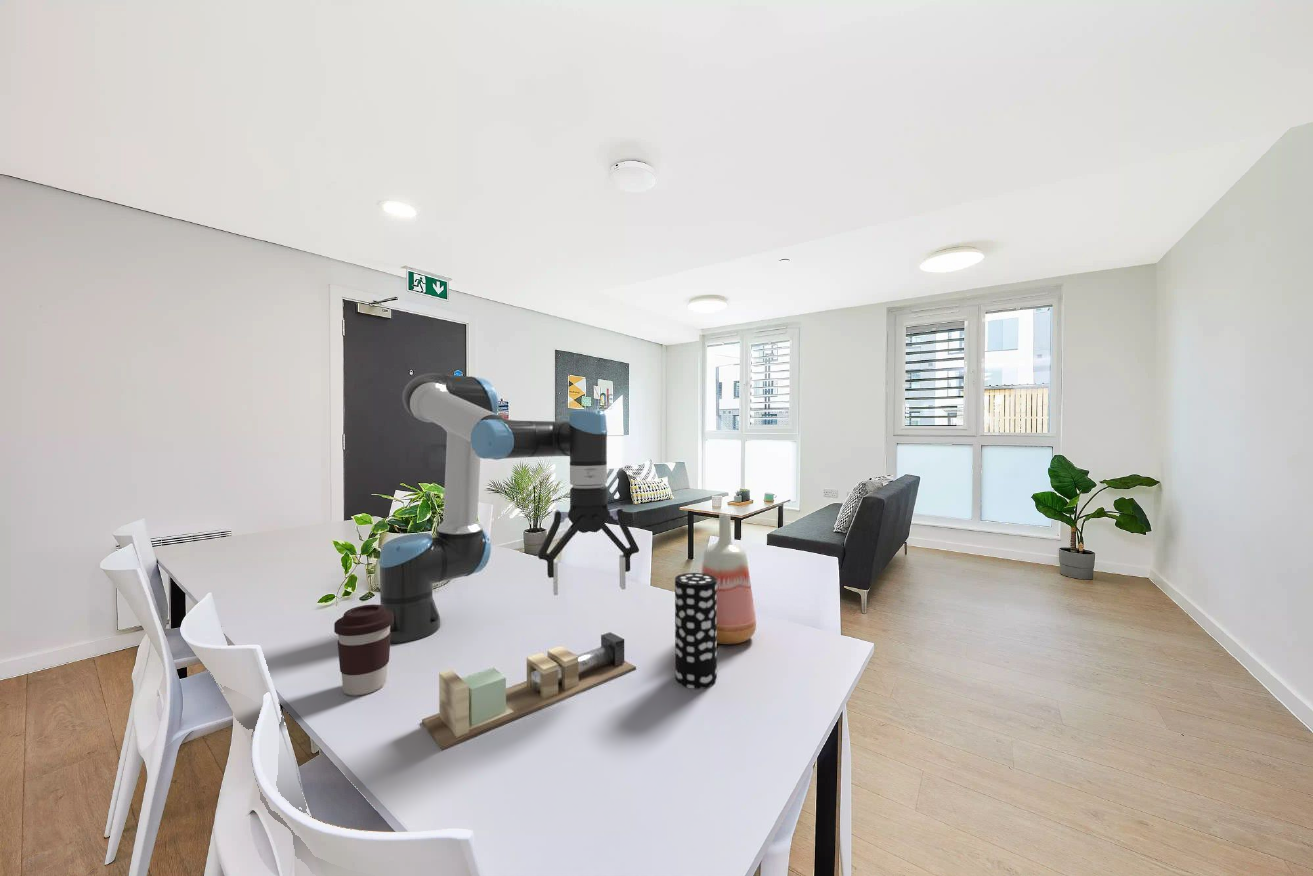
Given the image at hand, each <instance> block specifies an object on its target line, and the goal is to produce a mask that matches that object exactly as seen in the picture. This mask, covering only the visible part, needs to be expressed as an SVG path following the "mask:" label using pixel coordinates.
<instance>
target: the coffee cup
mask: <svg viewBox="0 0 1313 876" xmlns="http://www.w3.org/2000/svg"><path fill="white" fill-rule="evenodd" d="M342 615H343V616H342V617H340V618H338V619H337V620H336V621H335V622H334V624H333V626H334V627H333V629H334V630H333V632H334V633H335V634H336V635H338V640H337V651H338V652H337V653H338V661H339V662H338V663H339V671H340V673H341V681H342V682H341V683H342V691H343V693H345V694H346V695H348V696H362V695H367V694H371V693H373V692H376V691H377V690H379V689H381V688H383V686H384V685H385V684H386V683H387V681H388V679H387V677H388V663H389V662H390V650H391V643H390V639H391V631H390V625H391V624H392V623H393V622H394V614H393V612H391V611H389V610H386V609H385V607H384V606H382V605H380V604H364V605H359V606H356V607H355V606H354V607H353V608H350V609H348V610H347V611H345V612H344V613H343V614H342Z"/></svg>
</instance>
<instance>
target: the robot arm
mask: <svg viewBox="0 0 1313 876" xmlns="http://www.w3.org/2000/svg"><path fill="white" fill-rule="evenodd" d="M401 398H402V403H403V407H404V408H405V410H406V411H407V412H408V413H409V415H411V416H412V417H413V418H415V419H416V420H419V421H421V422H423V423H434V424H436V425H437V426H440V427H442V429H443V430H444V431H445V432H446V452H445V455H446V456H445V474H444V495H443V519H442V520H443V521H442V522H441V523H440V524H439V525H437V527H436V536H434V537H433V536H432V534H430V533H428V532H418V533H410V534H405V535H402V536H398V537H397V536H396V537H395V538H392V539H390V540H388V541H386V542H385V543H384V544H383V545H382V546H381V548H380V557H379V563H378V564H379V565H378V566H379V586H380V587H379V589H380V591H379V593H380V596H379V598H380V600H379V602H380V603H379V605H382V606H384V607H385V609H386V610H389V611H391V612H393V614H394V622H393V623H392V624H391V625H390V631H391V639H390V644H398V643H399V644H400V643H406V642H412V641H415V640H419V639H422V638H426V637H427V636H430V635H432V634H434V633H436V632H437V631H438V630H439V629H440V627H441V617H440V616H441V615H440V613H439V611H438V608H437V606H436V602H435V600H434V597H433V584H436V583H440V582H441V583H442V582H445V581H449V580H453V579H454V580H455V579H457V578H463V577H469V576H471V575H473V574H477V573H479V572H482V570H483V569H485V568H486V566H487V564H488V563H489V560H490V558H491V552H492V544H491V541H490V536H489V534H488V533H487V532H486V531H485V530H483V528H484V527H483V525H482V524H481V523H480V522H479V520H478V515H479V512H478V511H479V494H480V493H479V491H480V474H481V473H480V471H481V459H487V460H488V459H489V460H496V461H497V460H502V459H519V458H521V459H522V458H548V457H569V484H570V485H571V486H572V487H570V489H569V510H568V511H560V510H559V509H558V510H555V511H554V515H553V522H552V524H551V526H550V527H549V530H548V532H547V534H546V536H545V538H544V539H543V542H542V544H541V546H540V549H539V551H538V553H537V558H538V559H539V560H543V561H546V563H547V564H546V565H547V569H546V570H547V576H548V578H549V579H550V578H552V581H553V584H552V587H553V588H552V591H553V596H558V595H559V589H558V588H559V583H558V581H559V579H558V578H559V577H558V576H559V574H558V571H559V570H558V569H559V568H558V563H559V562H558V559H557V558H558V556H559V554H560V553H561V552H562V550H563V549H564V548H565V547H566V546H567V544H568V543H569V542H570V541H571V539H572V538H573V537H574V536H575V535H576V534H577V533H578V532H579V533H582V534H586V533H589V532H591V533H598V532H599V531H600V530H602V531H603V533H605V535H606V536H607V537H608V538H609V539H610V540H611V542H612V543H613V544H614V545H615V546H616V547H617V548H618V549H619V550H620V551H621V553H622V554H618V557H619V566H618V567H619V588H620V589H621V590H626V588H627V586H626V573H627V572H630V571H631V557H632V555H633V554H637V553H639V552H640V549H639V545H638V544H637V543H636V540H635V538H634V536H633V534H632V533H631V530H630V529H629V527H628V524H627V523H626V521H625V519H624V510H623V509H622V508H620V507H616V508H613V509H609V507H608V488H607V487H606V486H605V485H606V484H608V469H607V468H608V467H607V465H608V462H607V461H608V459H607V457H608V455H607V453H608V452H607V450H608V449H607V447H608V445H607V443H608V427H607V416H606V413H605V412H604V411H602V410H597V409H593V410H592V409H576V410H572V411H570V413H569V417H568V421H563V420H559V421H558V420H557V421H554V420H553V421H552V420H551V421H548V420H546V421H545V420H513V419H508V418H506V417H503V416H501V415H499V414H498V411H499V398H498V394H497V391H496V389H495V387H494V386H493V384H492V383H491V382H490V381H489V380H487V379H485V378H480V377H476V376H471V375H470V376H467V375H464V376H463V375H454V374H443V373H436V372H430V373H424V374H420V375H418V376H416V377H414V378H413V379H411V380H410V381H409V382H408V383H407V384H406V386H405V387H404V389H403V392H402V397H401ZM610 517H612V519H613V520H616V522H617V524H618V526H619V528H620V529H621V532H622V534H623V536H624V537H625V540H626V542H627V543H628V545H629V547H626V545H624V544H623V542H622V541H621V540H620V539H619V537H618V536H616V534H615V533H614V532H613V531H612V530H611V529H610V528H609V526H608V525H607V524H606V523H607V521H608V519H609V518H610ZM566 519H568V520H569V521H570V522H571V525H570V526H569V527H568V529H567V530H566V531H565V532H564V534H563V535H562V537H561V538H560V539H559V540H558V542H556V543H555V545H554V547H552V549H551V550H550V551H549V552H548V550H549V548H550V547H551V545H552V543H553V540H554V538H555V536H556V534H557V532H558V530H559V528H560V526H561V523H564V522H565V520H566Z"/></svg>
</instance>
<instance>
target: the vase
mask: <svg viewBox="0 0 1313 876" xmlns="http://www.w3.org/2000/svg"><path fill="white" fill-rule="evenodd" d="M718 518H719V519H718V541H717V542H716V543H714V544H712V545H709V546H708V547H706V548H705V549H704V552H703V556H702V564H701V573H703V574H708V575H712V576H714V577H715V578H716V579H717V644H720V645H736V644H740V643H743V642H746V641H748V640H749V639H751V638H752V637H753V636H754V634H755V633H756V630H757V619H756V618H757V617H756V610H755V604H754V598H753V590H752V583H751V577H750V571H749V564H748V557H747V553H746V551H745V549H744V548H742V547H741V546H740V545H737V544H735V543H733V541H732V531H731V529H732V527H731V526H732V525H731V524H732V523H731V514H730V513H719V517H718Z"/></svg>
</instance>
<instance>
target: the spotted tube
mask: <svg viewBox="0 0 1313 876" xmlns="http://www.w3.org/2000/svg"><path fill="white" fill-rule="evenodd" d="M674 627H675V628H674V629H675V630H674V648H675V649H674V653H675V654H674V656H675V657H674V658H675V659H674V664H675V665H674V668H675V669H674V671H675V673H674V675H675V681H676V682H677V683H678V685H679V686H680V685H681V687H685V688H689V689H695V690H696V689H699V690H700V689H706V688H710V687H712V686H713V685H715V684H716V682H717V679H718V673H717V672H718V671H717V670H718V662H717V661H718V660H717V659H718V655H717V654H718V650H717V648H718V646H717V644H718V643H717V579H716V578H715V577H714V576H712V575H708V574H703V573H700V572H687V573H682V574H679V575H677V576H675V577H674Z"/></svg>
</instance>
